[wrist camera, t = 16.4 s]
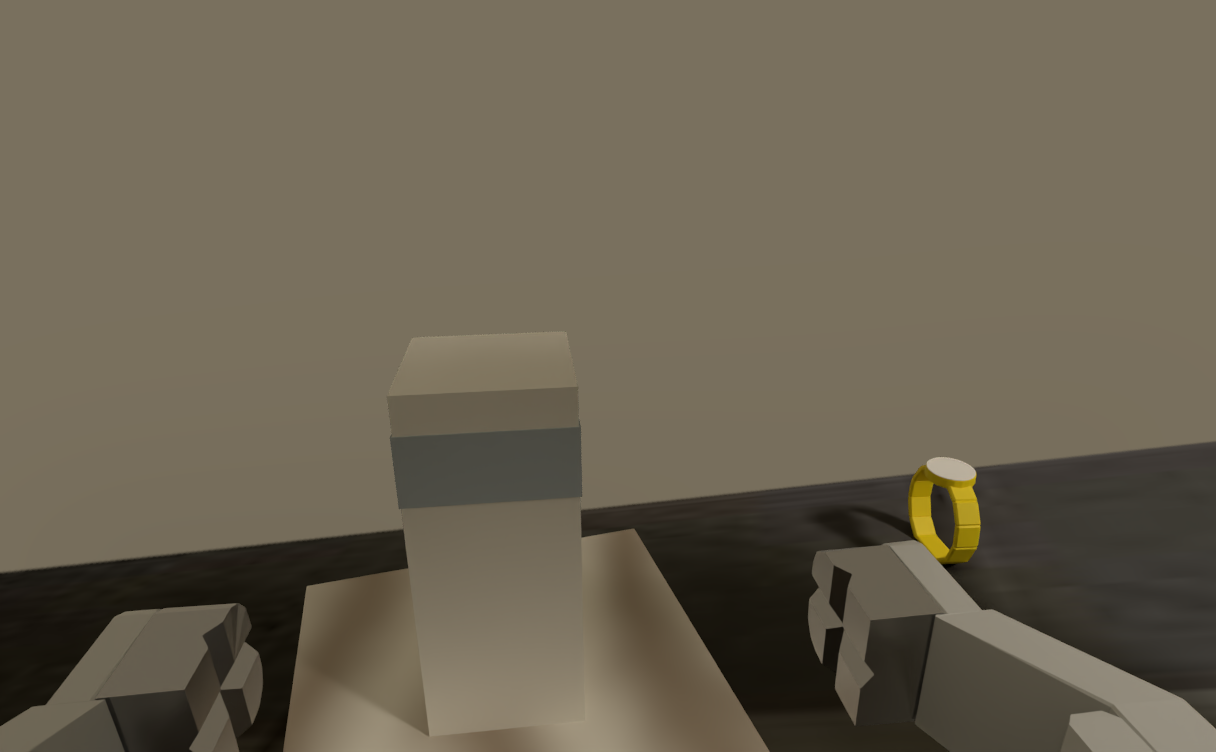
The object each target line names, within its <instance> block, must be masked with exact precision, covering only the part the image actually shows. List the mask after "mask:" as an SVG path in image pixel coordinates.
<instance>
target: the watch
mask: <svg viewBox="0 0 1216 752" xmlns="http://www.w3.org/2000/svg"><path fill="white" fill-rule="evenodd" d="M975 480H976V471H975V470H974V469H973V467H971V466H970V465H969V464H967V463H964V462H962V461H960V460H956V459H952V458H945V457H944V458H943V457H938V458H932V459H930V460H929V461H928V462H927V463H926V465H924V466H921V467H920V468H919V469H918V471H917V472H916V473H915V475H914V476H913V477H912V480H911V484H910V489H909V494H908V495H909V497H908V508H909V517H910V518H909V520H910V523H911V527H912V531H913V535H914V537H915V538H916V539H917V541H918V542H919V543H922V544H923V545H924V546H925V547H926V548H927V550H928V551H929V552H930V553H931V554H932V555H933V556H934V557H935V559H936V560H937V561H938V562H939V563H940V564H957V563H963V562H967V561H969V559H970V558H971V556H972V555H973V553H974V552H975V550H976V548H977V546H978V540H979V534H980V526H979V525H980V524H981V523H980V515H979V508H978V502H977V501H976V500H977V498H976V496H975V493H974V491H973V489H972V486H973V485H974V484H975ZM933 483H934V484H936V485H938V486H941V487H944V488H947V490H948V492H949V495H950V497H951V500H952V502H953V510H954V518H955V525H956V526H955V532H954V539H953V546H952V547H951V549H950V550H949V549H948V548H947V547H946V546H945V544H944V543H943V542H942V541H941V540H940V539H939V538H938V537H937V535H936V532H935V529H934V525H933V521H932V518H931V503H930V495H931V491H932V486H933Z"/></svg>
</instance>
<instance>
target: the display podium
mask: <svg viewBox="0 0 1216 752" xmlns="http://www.w3.org/2000/svg"><path fill="white" fill-rule="evenodd" d="M581 550H582V598H583V646H584V694H585V721H578V722H569V723H559V724H549V725H539V726H530V727H520V728H510V729H500V730H490V731H481V732H471V733H461V734H451V735H442V736H432V737H430V736H429V728H428V720H427V712H426V704H425V696H424V688H423V680H422V672H421V664H420V656H419V648H418V640H417V632H416V624H415V617H414V609H413V601H412V593H411V585H410V577H409V569H408V568H407V569H401V570H396V571H390V572H384V573H379V574H373V575H367V576H362V577H356V578H350V579H345V580H339V581H333V582H328V583H322V584H316V585H311V586H307V588H306V595H305V602H304V609H303V616H302V623H301V630H300V637H299V644H298V651H297V658H296V665H295V672H294V679H293V686H292V693H291V700H290V707H289V714H288V721H287V728H286V735H285V742H284V749H283V752H769V750H768V748H767V747H766V745H765V743H764V742H763V740H762V738H761V737H760V735H759V734H758V732H757V730H756V729H755V727H754V725H753V724H752V722H751V720H750V719H749V717H748V715H747V714H746V712H745V710H744V709H743V707H742V706H741V704H740V702H739V701H738V699H737V697H736V696H735V694H734V692H733V691H732V689H731V687H730V686H729V684H728V682H727V681H726V679H725V678H724V676H723V674H722V673H721V671H720V669H719V668H718V666H717V664H716V663H715V661H714V659H713V658H712V656H711V654H710V653H709V651H708V650H707V648H706V646H705V645H704V643H703V641H702V640H701V638H700V636H699V635H698V633H697V631H696V630H695V628H694V627H693V625H692V623H691V622H690V620H689V618H688V617H687V615H686V613H685V612H684V610H683V608H682V607H681V605H680V603H679V602H678V600H677V599H676V597H675V595H674V594H673V592H672V590H671V589H670V587H669V585H668V584H667V582H666V580H665V579H664V577H663V575H662V574H661V572H660V571H659V569H658V567H657V566H656V564H655V562H654V561H653V559H652V557H651V556H650V554H649V552H648V551H647V549H646V548H645V546H644V544H643V543H642V541H641V539H640V538H639V536H638V534H637V533H636V531H635V529H629V530H623V531H617V532H612V533H606V534H600V535H595V536H589V537H583V538H581Z"/></svg>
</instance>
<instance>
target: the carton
mask: <svg viewBox="0 0 1216 752" xmlns="http://www.w3.org/2000/svg"><path fill="white" fill-rule="evenodd" d="M387 401H388V409H389V417H390V425H391V433H392V434H391V437H390V441H391V450H392V458H393V466H394V474H395V482H396V490H397V497H398V505H399V509H401V513H402V521H403V529H404V537H405V545H406V553H407V561H408V569H409V577H410V585H411V593H412V601H413V609H414V617H415V624H416V632H417V640H418V648H419V656H420V664H421V672H422V680H423V688H424V696H425V704H426V712H427V720H428V728H429V736H430V737H432V736H442V735H451V734H461V733H471V732H481V731H490V730H500V729H510V728H520V727H530V726H539V725H549V724H559V723H569V722H578V721H585V694H584V646H583V598H582V550H581V503H580V497H582V467H581V426H580V421H579V409H578V408H579V407H578V384H577V380H576V375H575V371H574V366H573V362H572V357H571V353H570V348H569V344H568V339H567V335H566V331H562V332H537V333H512V334H488V335H463V336H438V337H415V338H412V340H411V342H410V344H409V347H408V349H407V351H406V353H405V356H404V358H403V360H402V363H401V365H400V368H399V370H398V372H397V374H396V376H395V379H394V381H393V383H392V386H391V388H390V390H389V393H388V395H387Z"/></svg>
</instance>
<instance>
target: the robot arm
mask: <svg viewBox="0 0 1216 752" xmlns="http://www.w3.org/2000/svg"><path fill="white" fill-rule="evenodd" d="M812 576H813V577H814V579H815V581H816V582H817V584H818V586H819V588H818V589H817V590H816V592H815V593H814V594H813V595H812V596H811V597H810V599H809V609H808V622H809V629H810V636H811V639H812V642H813V645H814V648H815V651H816V653H817V655H818V657H819V659H820V661H821V663H822V664H823V665H824V666H826V667H827V668H829V669H830V670H832V671H833V672H835V673H837V674H836V682H835V690H836V691H837V693H838V695H839V697H840V699H841V701H842V703H843V705H844V706H845V708H846V710H847V712H848V714H849V716H850V718H851V719H852V721H853V723H854V725H855V726H865V725H876V724H888V723H900V722H911V721H915V725H916V726H918V727H919V728H920V729H922V730H923V731H924V732H925V733H927V734H928V735H929V736H931V737H932V738H933V739H934V740H936V741H937V742H938V743H939V744H941V745H942V746H943V747H945V748H946V749H947V750H948V751H950V752H1216V729H1215V728H1214V727H1213V726H1212V725H1211V724H1210V723H1209V722H1208V721H1207V720H1206V719H1204V718H1203V717H1202V716H1201V715H1200V714H1199V713H1198V712H1197V711H1196V710H1195V709H1194V708H1192V707H1191V706H1190V705H1189V704H1188V703H1187V702H1186V701H1185V700H1184V699H1182V698H1180V697H1178V696H1176V695H1174V694H1171V693H1169V692H1167V691H1165V690H1163V689H1161V688H1159V687H1157V686H1154V685H1152V684H1150V683H1148V682H1146V681H1144V680H1142V679H1139V678H1137V677H1135V676H1133V675H1131V674H1129V673H1127V672H1125V671H1122V670H1120V669H1118V668H1116V667H1114V666H1112V665H1110V664H1107V663H1105V662H1103V661H1101V660H1099V659H1097V658H1095V657H1093V656H1090V655H1088V654H1086V653H1084V652H1082V651H1080V650H1078V649H1076V648H1073V647H1071V646H1069V645H1067V644H1065V643H1063V642H1061V641H1058V640H1056V639H1054V638H1052V637H1050V636H1048V635H1046V634H1044V633H1041V632H1039V631H1037V630H1035V629H1033V628H1031V627H1029V626H1026V625H1024V624H1022V623H1020V622H1018V621H1016V620H1014V619H1012V618H1009V617H1007V616H1005V615H1003V614H1001V613H999V612H997V611H994V610H981V609H980V607H979V606H978V605H977V604H976V603H975V602H974V601H973V600H972V599H971V597H970V596H969V595H968V594H967V593H966V592H965V591H964V590H963V589H962V587H961V586H960V585H959V584H958V583H957V582H956V581H955V580H954V579H953V577H952V576H951V575H950V574H949V573H948V572H947V571H946V570H945V569H944V567H943V566H942V565H941V564H940V563H939V562H938V561H937V560H936V559H935V557H934V556H933V555H932V554H931V553H930V552H929V551H928V550H927V548H926V547H925V546H924V545H923V544H922V543H919V542H917V541H915V540H912V541H903V542H895V543H886V544H882V545H879V546H868V547H858V548H847V549H837V550H826V551H817V553H816V555H815V558H814V560H813V568H812ZM251 627H252V626H251V623H250V620H249V617H248V613H247V610H246V607H244V606H242V605H240V604H239V603H234V604H219V605H205V606H190V607H176V608H164V609H152V610H140V611H128V612H124V613H122V614H119V615H117V616H115V617H114V618H113V619H112V620H111V622H110V623H109V624H108V626H107V627H106V628H105V629H104V631H103V632H102V633H101V635H100V636H99V637H98V638H97V640H96V641H95V642H94V644H93V645H92V646H91V647H90V649H89V650H88V651H87V653H86V654H85V655H84V656H83V658H82V659H81V660H80V662H79V663H78V664H77V665H76V667H75V668H74V669H73V670H72V672H71V673H70V674H69V676H68V677H67V678H66V679H65V681H64V682H63V683H62V685H61V686H60V687H59V688H58V690H57V691H56V692H55V694H54V695H53V696H52V697H51V699H50V700H49V701H48V703H47V704H46V705H43V706H35V707H31V708H29V709H28V710H26V711H25V712H23V713H21V714H20V715H18V716H16V717H15V718H13V719H12V720H10V721H8V722H7V723H5V724H4V725H2V726H0V752H239V749H238V745H237V742H236V738H237V737H239V736H240V735H241V734H242V733H243V732H244V731H246V730H247V729H248V728H249V727H250V726H252V724H253V722H254V719H255V716H256V714H257V711H258V709H259V706H260V700H261V694H262V688H263V674H262V665H261V661H260V657H259V653H258V652H257V651H256V650H255V649H253V648H252V647H251V646H249V645H248V644H247V643H246V642H245V640H246V638H247V635H248V633H249V631H250V629H251Z"/></svg>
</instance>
